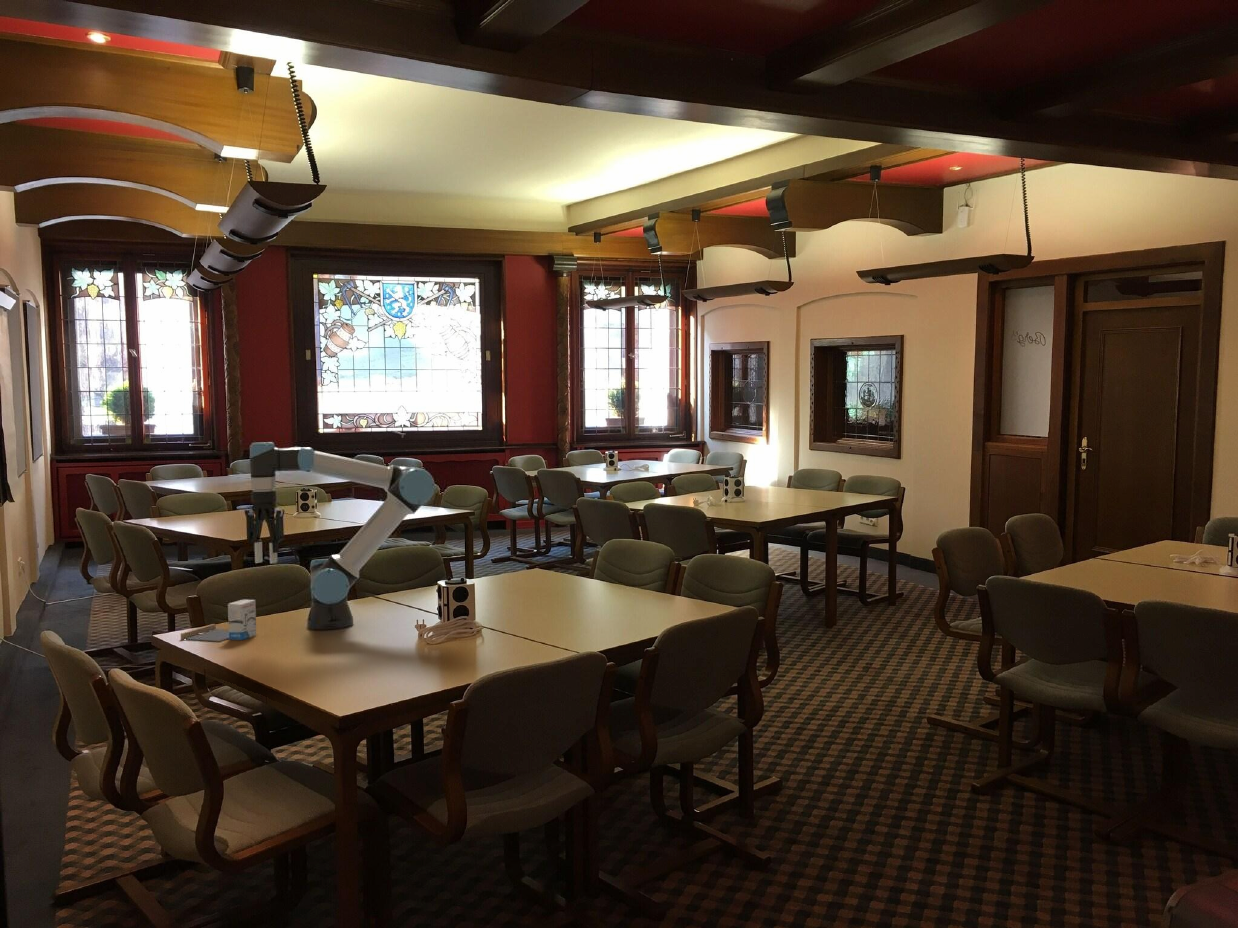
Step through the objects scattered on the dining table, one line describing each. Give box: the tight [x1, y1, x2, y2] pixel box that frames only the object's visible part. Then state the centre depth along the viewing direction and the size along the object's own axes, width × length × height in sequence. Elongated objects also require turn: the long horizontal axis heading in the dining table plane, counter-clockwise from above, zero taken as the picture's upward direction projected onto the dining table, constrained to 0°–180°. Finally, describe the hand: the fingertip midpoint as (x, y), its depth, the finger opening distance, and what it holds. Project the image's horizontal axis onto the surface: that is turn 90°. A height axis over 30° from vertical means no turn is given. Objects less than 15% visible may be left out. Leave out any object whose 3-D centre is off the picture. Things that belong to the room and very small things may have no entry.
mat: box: [180, 623, 229, 643], centre depth 312 cm, size 15×15×2 cm
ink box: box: [227, 599, 258, 641], centre depth 308 cm, size 9×5×12 cm, turn 168°
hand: (266, 562), depth 305 cm, fingers open, 5 cm apart
